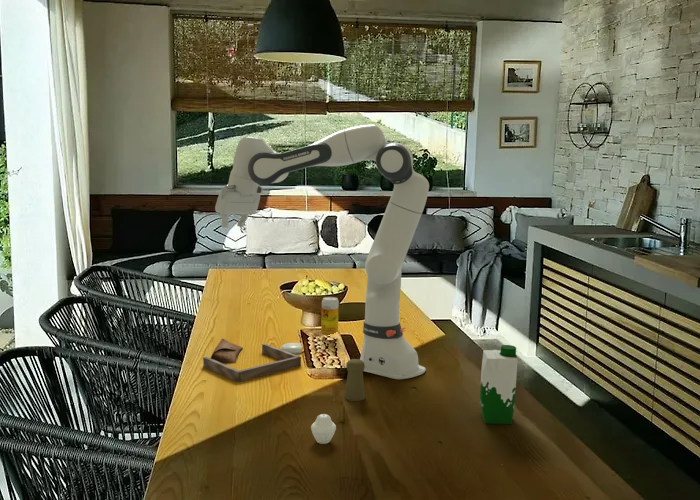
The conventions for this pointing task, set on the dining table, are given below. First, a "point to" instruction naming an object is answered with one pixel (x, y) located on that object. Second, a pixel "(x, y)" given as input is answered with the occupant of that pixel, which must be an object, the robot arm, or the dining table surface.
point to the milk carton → (498, 385)
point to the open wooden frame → (285, 363)
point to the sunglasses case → (226, 352)
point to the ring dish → (292, 348)
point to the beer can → (329, 315)
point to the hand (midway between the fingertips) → (232, 226)
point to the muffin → (323, 429)
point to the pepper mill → (355, 380)
